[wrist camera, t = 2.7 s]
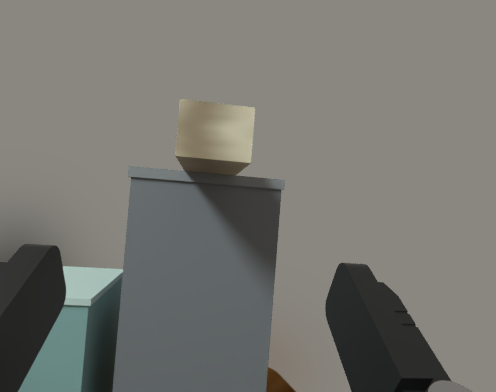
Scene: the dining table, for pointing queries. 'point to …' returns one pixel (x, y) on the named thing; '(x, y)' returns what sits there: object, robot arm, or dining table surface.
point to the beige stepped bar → (214, 137)
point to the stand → (197, 282)
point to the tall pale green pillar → (81, 336)
